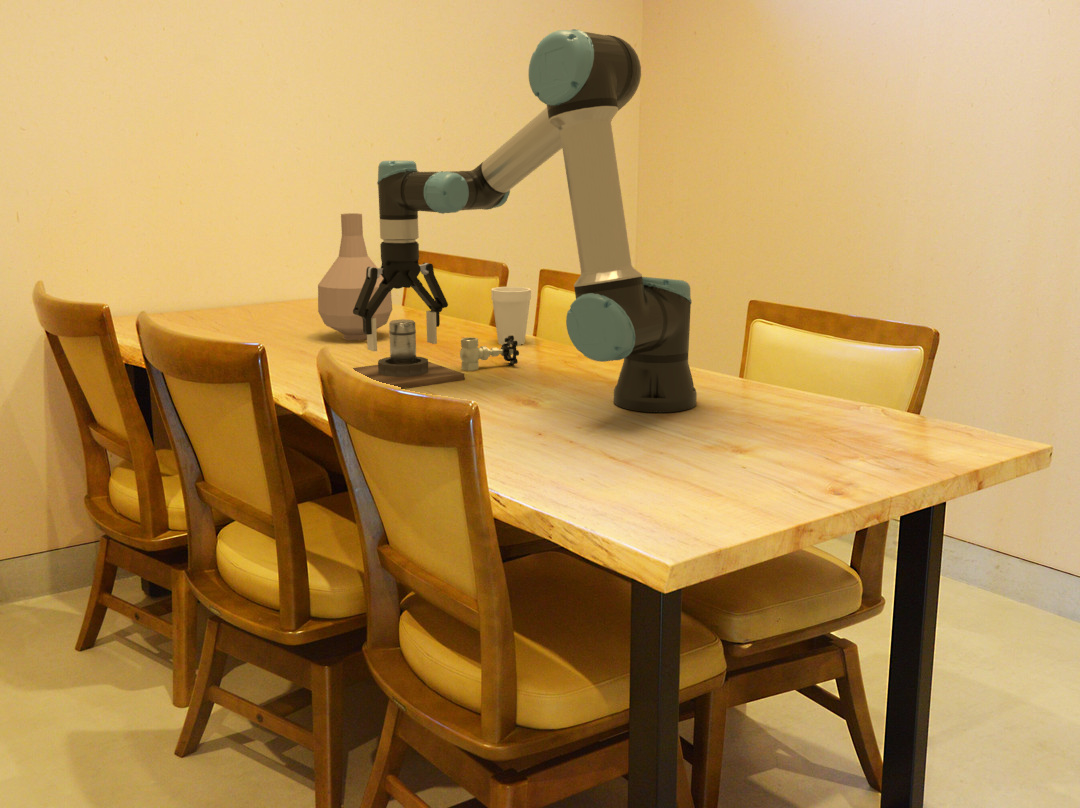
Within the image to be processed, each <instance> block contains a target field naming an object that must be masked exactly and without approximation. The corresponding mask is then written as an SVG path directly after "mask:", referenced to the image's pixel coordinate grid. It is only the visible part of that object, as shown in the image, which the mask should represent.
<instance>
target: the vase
mask: <svg viewBox="0 0 1080 808" xmlns="http://www.w3.org/2000/svg"><path fill="white" fill-rule="evenodd" d="M340 221H341V223H340V224H341V226H340V227H341V239H340V245H339V249H338V251H339V252H338V256H337V257H336V259H335V261H334V262H333V263H332V265H331V266H330V268H329V269H328V270H327V272H326V274H324V276H323V278H321V280H320V282H318V284H317V291H318V292H317V305H318V306H317V312H318V315H319V316H320V318H321V319H322V322H323V324H324V325H325V326H327V327H329V328H331V329H332V330H335V331H337V332H339V333H341V334H342V338H343V339H344V340H346V341H362V340H363V341H364V340H367V334H364V332H363V319H362V317H361V316H358V315H355V314H353V309H354V307H355V304H356V302H357V299H358V297H359V294H360V292H361V289H362V287H363V284H364V282H365V279H366V270H367V267H374V268H378V266H377V265H376V264H375V262H374V261H373V260H372V259H371V258H370V257H369V254H368V252H367V247H366V242H365V239H364V234H363V232H364V231H363V214H362V213H355V212H354V213H350V212H349V213H348V212H347V213H340ZM383 279H384V278H383V277H382V275H381V274H380V277H379V278H378V279H377V282H376V285H375V287H374V290H373V292H372V295H371V297H370V300H371V298H372V297H373V295H374V294H375V292H376V291H377V289H378V288H379V284H380V283H381V282H382V280H383ZM370 300H369V301H370ZM368 303H369V302H368ZM392 311H393V300H392V290H391V291H390V292H389V293H388V294H387V296H386V297H385V299H384V300H383V302H382V303H381V305H380V306H379V307H378V309H377V310H376V312H375V313H374V315H373V316H372V318H376V330H378V329H379V328H381V327H383V326H384V325H386V324H388V321H389V319H390V316H391V314H392Z"/></svg>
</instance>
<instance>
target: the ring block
mask: <svg viewBox="0 0 1080 808" xmlns="http://www.w3.org/2000/svg"><path fill="white" fill-rule="evenodd" d="M352 368H353V369H354V370H355V371H357V372H359V373H361V374H363V375H365V376H367V377H369V378H371V379H373V380H376V381H379V382H382V383H386V384H390V385H394V386H398V387H401V388H404V389H406V388H405V387H411V388H416V387H423V386H429V385H430V386H431V385H437V384H444V383H449V382H457V381H462V380H463V381H464V380H465V379H466V377H465V376H466V375H465V373H463V372H461V371H457V370H454V369H452V368H449V367H446V366H442V365H440V364H437V363H434V362H431V361H429V359H428V358H427V357H424V356H423V357H422V356H417V355H416V363H414V364H401V365H397V364H391V363H390V356H387V357H383V358H381V359H378V360H377V364H371V365H366V366H359V367H352Z"/></svg>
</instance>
